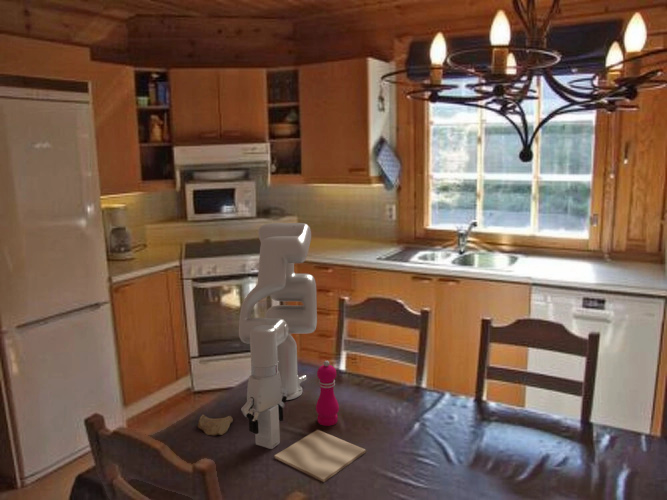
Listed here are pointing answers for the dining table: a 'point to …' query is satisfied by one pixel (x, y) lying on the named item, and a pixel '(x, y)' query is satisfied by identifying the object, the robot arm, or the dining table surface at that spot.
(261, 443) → the skincare box
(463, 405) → the dining table surface
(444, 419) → the dining table surface
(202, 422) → the pottery shard
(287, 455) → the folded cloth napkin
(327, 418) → the pepper mill
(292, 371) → the robot arm
